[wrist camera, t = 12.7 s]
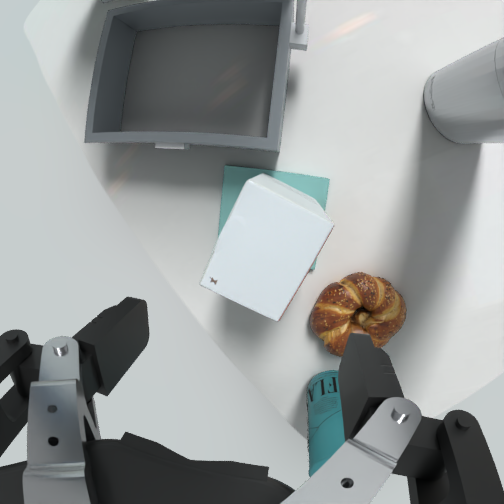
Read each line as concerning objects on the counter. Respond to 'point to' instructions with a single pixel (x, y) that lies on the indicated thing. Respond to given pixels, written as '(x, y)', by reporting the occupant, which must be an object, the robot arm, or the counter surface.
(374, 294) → the pretzel
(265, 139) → the case
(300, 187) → the mat
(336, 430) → the beverage bottle
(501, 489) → the robot arm
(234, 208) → the small box
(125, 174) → the counter surface
